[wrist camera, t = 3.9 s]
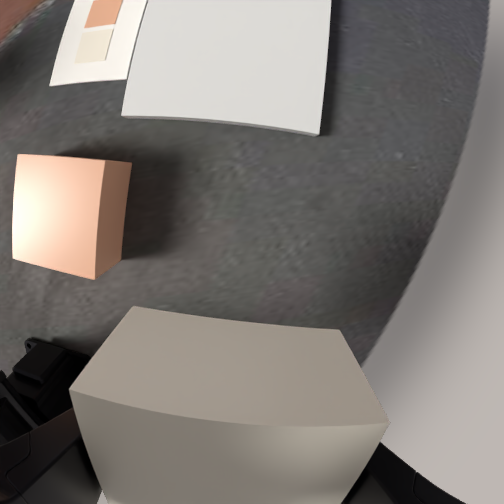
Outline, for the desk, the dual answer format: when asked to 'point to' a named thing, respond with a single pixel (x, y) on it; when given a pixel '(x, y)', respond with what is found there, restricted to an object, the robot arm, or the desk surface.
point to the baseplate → (231, 63)
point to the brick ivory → (225, 412)
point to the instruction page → (98, 41)
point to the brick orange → (69, 212)
